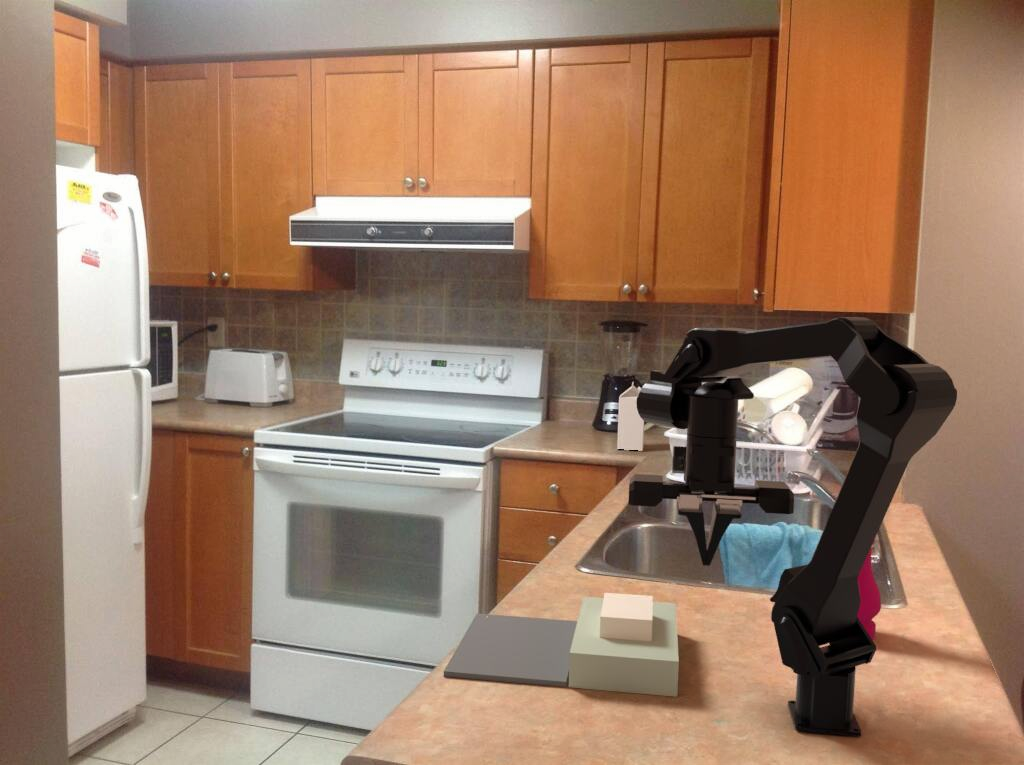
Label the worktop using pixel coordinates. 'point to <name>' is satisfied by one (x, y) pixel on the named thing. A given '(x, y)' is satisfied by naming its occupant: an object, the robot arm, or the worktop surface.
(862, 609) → the pepper mill
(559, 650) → the mat
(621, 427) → the milk carton
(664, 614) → the block
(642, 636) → the tilted white rectangular prism
